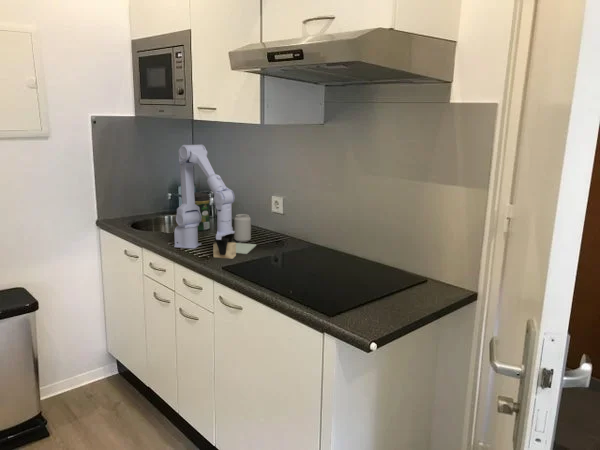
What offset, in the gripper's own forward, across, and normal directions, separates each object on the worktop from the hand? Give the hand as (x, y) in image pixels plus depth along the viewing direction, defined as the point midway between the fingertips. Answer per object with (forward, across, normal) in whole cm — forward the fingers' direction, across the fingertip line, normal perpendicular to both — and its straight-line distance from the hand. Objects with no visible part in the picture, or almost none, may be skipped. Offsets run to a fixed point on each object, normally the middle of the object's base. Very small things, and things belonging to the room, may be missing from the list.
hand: (224, 253), depth 196 cm
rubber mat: (+1, +13, 0) cm, 13 cm away
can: (+2, +27, +1) cm, 27 cm away
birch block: (+1, 0, 0) cm, 1 cm away
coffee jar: (+2, +43, +28) cm, 51 cm away
